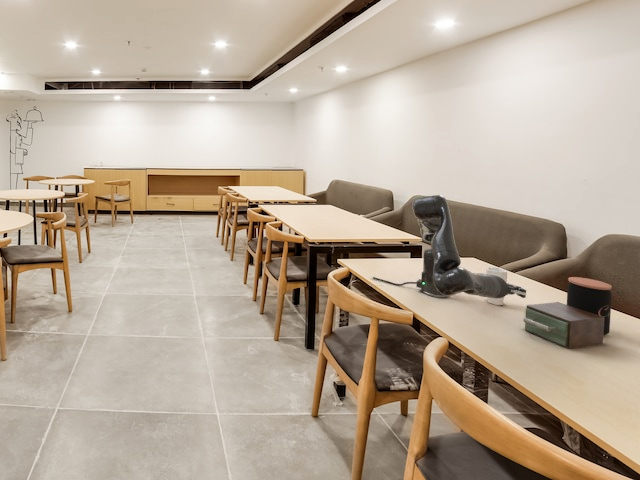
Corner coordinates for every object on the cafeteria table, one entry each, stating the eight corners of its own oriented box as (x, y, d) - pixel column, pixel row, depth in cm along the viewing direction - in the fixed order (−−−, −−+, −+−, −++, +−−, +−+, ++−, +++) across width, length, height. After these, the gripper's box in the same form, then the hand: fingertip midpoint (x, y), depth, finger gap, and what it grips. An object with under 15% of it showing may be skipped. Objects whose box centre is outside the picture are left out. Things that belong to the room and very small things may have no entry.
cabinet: (569, 348, 122) (570, 321, 122) (525, 330, 135) (526, 305, 134) (603, 344, 125) (604, 317, 125) (556, 326, 138) (558, 301, 137)
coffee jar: (604, 339, 129) (607, 289, 128) (561, 325, 138) (563, 279, 138) (613, 332, 134) (616, 284, 133) (571, 319, 143) (573, 275, 142)
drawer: (554, 347, 122) (556, 324, 121) (515, 330, 133) (516, 309, 133) (596, 341, 125) (597, 319, 125) (554, 325, 137) (555, 305, 136)
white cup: (509, 307, 154) (511, 272, 154) (491, 305, 155) (493, 271, 155) (498, 300, 161) (499, 267, 160) (480, 299, 162) (482, 266, 162)
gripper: (512, 281, 114) (545, 285, 120) (465, 268, 127) (497, 272, 132) (509, 304, 114) (542, 307, 119) (462, 289, 126) (494, 293, 132)
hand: (518, 289), depth 126 cm, fingers closed
